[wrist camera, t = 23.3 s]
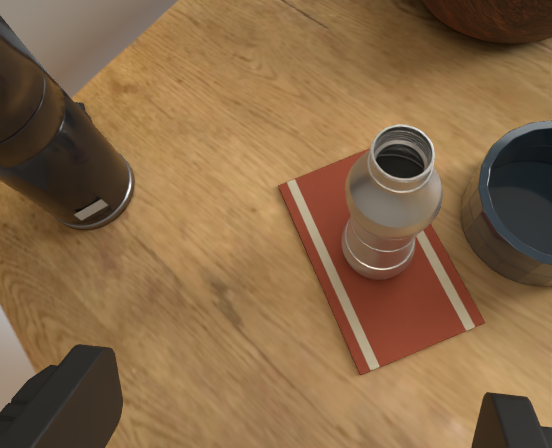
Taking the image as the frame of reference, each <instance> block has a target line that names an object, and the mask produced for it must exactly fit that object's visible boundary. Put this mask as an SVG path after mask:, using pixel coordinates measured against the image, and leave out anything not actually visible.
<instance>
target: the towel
mask: <svg viewBox="0 0 552 448" xmlns="http://www.w3.org/2000/svg"><path fill="white" fill-rule="evenodd" d="M369 150H371V148H370V149H367V150H365V151H362V152H360V153H358V154H355V155H353V156H350V157H348V158H345V159H343V160H340V161H338V162H335V163H333V164H330V165H328V166H326V167H323V168H321V169H318V170H316V171H313V172H311V173H308V174H306V175H303V176H301V177H299V178H296V179H293V180H291V181H288V182H286V183H284V184H281V185H279V186H278V187H279V189H280V192H281V194H282V196H283V199H284V201H285V203H286V205H287V208H288V210H289V212H290V215H291V217H292V219H293V222H294V224H295V226H296V228H297V231H298V233H299V235H300V238H301V240H302V242H303V245H304V247H305V249H306V251H307V254H308V256H309V258H310V261H311V263H312V265H313V268H314V270H315V272H316V274H317V277H318V279H319V281H320V284H321V286H322V288H323V290H324V293H325V295H326V297H327V300H328V302H329V304H330V307H331V309H332V311H333V313H334V316H335V318H336V320H337V323H338V325H339V327H340V330H341V332H342V334H343V336H344V339H345V341H346V343H347V346H348V348H349V350H350V353H351V355H352V357H353V359H354V362H355V364H356V366H357V369H358V371H359V373H360V375H362V374H364V373H367V372H369V371H372V370H374V369H376V368H379V367H381V366H384V365H386V364H388V363H391V362H393V361H396V360H398V359H400V358H403V357H405V356H407V355H410V354H412V353H415V352H417V351H419V350H422V349H424V348H427V347H429V346H431V345H434V344H436V343H439V342H441V341H443V340H446V339H448V338H450V337H453V336H455V335H458V334H460V333H462V332H465V331H467V330H470V329H472V328H474V327H477V326H479V325H482V324H484V323H485V322H484V320H483V318H482V316H481V314H480V313H479V311H478V309H477V307H476V305H475V303H474V302H473V300H472V298H471V296H470V294H469V293H468V291H467V289H466V287H465V285H464V284H463V282H462V280H461V278H460V276H459V274H458V273H457V271H456V269H455V267H454V265H453V264H452V262H451V260H450V258H449V256H448V254H447V253H446V251H445V249H444V247H443V245H442V244H441V242H440V240H439V238H438V236H437V234H436V233H435V231H434V229H433V227H432V225H431V224H429V226H428V227H427V228H425V229H424V230H423V231H422V232H420V233H419V234H418V235H417V236H416V237H415V251H414V255H413V258H412V260H411V263H410V264H409V265H408V267H407V268H406V269H405V270H404V271H403V272H401V273H400V274H398V275H396V276H394V277H392V278H389V279H385V280H374V279H369V278H366V277H364V276H362V275H360V274H359V273H357V272H356V271H355V270H354V269H353V268H352V267H351V266H350V265H349V263H348V261H347V260H346V258H345V256H344V254H343V251H342V245H341V238H342V233H343V229H344V227H345V225H346V223H347V222H348V220H349V219H350V211H349V208H348V205H347V201H346V192H345V185H346V179H347V176H348V173H349V171H350V169H351V167H352V166H353V165H354V163H355V162H356V161H357V160H358V159H359V158H360V157H361V156H362V155H363V154H364V153H366V152H367V151H369Z"/></svg>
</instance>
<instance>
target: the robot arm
mask: <svg viewBox="0 0 552 448" xmlns="http://www.w3.org/2000/svg"><path fill="white" fill-rule="evenodd" d="M84 110H85V107H84V104H83V103H78V102H76V103H75V102H73V100H72V99H71V98H70V97H69V96H68V95H67V94H66V92H65V91H64V90H63V89H62V88H61V87H60V86H59V84H58V83H57V82H56V81H55V80H54V79H53V78H52V77H51V76H50V74H49V73H48V72H47V71H46V70H45V69H44V68H43V66H42V65H41V64H40V63H39V62H38V61H37V60H36V58H35V57H34V56H33V55H32V54H31V53H30V51H29V50H28V49H27V48H26V47H25V45H24V44H23V43H22V42H21V41H20V39H19V38H18V37H17V36H16V34H15V33H14V32H13V31H12V29H11V28H10V27H9V25H8V24H7V23H6V22H5V21H4V20H3V18H2V17H1V16H0V181H2V182H3V183H5V184H6V185H8V186H9V187H11V188H12V189H14V190H15V191H17V192H18V193H20V194H21V195H23V196H24V197H26V198H27V199H29V200H30V201H32V202H34V203H35V204H37V205H38V206H40V207H41V208H43V209H44V210H45V211H47V212H49V213H50V214H52V215H53V216H54V217H55V218H56V219H58V220H59V221H60V222H62V223H63V224H65V225H67V226H69V227H71V228H74V229H80V230H90V229H95V228H99V227H102V226H104V225H106V224H108V223H110V222H111V221H113V220H114V219H115V218H117V217H118V216H119V215H120V214H121V213H122V212H123V211H124V209H125V208H126V207H127V205H128V203H129V201H130V199H131V197H132V194H133V190H134V175H133V172H132V169H131V167H130V165H129V164H128V162H127V161H126V160H125V159H124V158H123V156H122V155H121V154H119V153H118V152H117V151H116V150H115V149H114V148H113V146H112V145H111V144H110V143H109V142H108V140H107V139H106V138H105V137H104V136H103V135H102V134H101V132H100V131H99V130H98V129H97V128H96V127H95V126H94V124H93V123H92V120H91V118H90V116H89V115H88V114H87V113H86V112H85V111H84ZM122 407H123V397H122V391H121V386H120V380H119V374H118V369H117V363H116V357H115V353H114V351H113V349H111V348H108V347H99V346H90V345H81V344H79V345H76V346H75V347H73V348H72V349H71V351H70V352H69V353H68V354H67V356H66V357H65V358H64V359H63V360H62V362H61V363H60V364H59V365H58V366H56V365H50V366H48V367H47V368H45V369H44V370H42V371H41V372H39V373H38V374H36V375H35V376H33V377H32V378H30V379H29V380H28V381H27V382H26V383H25V384H24V385H23V387H22V388H21V389H20V390H19V391H18V392H17V393H16V395H15V396H14V397H13V398H12V401H11V403H8V404H7V405H6V406H5V407H4V408H3V410H2V411H1V412H0V448H105V447H106V445H107V443H108V441H109V440H110V438H111V436H112V434H113V433H114V431H115V429H116V427H117V425H118V423H119V420H120V417H121V413H122ZM471 448H552V428H551V427H543V426H540V423H539V421H538V418H537V416H536V413H535V411H534V409H533V406H532V404H531V402H530V400H529V399H528V398H527V397H524V396H515V395H506V394H498V393H489V392H487V393H486V394H485V395H484V397H483V401H482V405H481V409H480V413H479V417H478V422H477V426H476V430H475V434H474V438H473V442H472V447H471Z"/></svg>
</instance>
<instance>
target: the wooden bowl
mask: <svg viewBox="0 0 552 448" xmlns="http://www.w3.org/2000/svg"><path fill="white" fill-rule="evenodd" d="M421 1H422V2H423V3H424V5H425V6H426V7H427V8H428V10H429V11H430V12H431V13H432V14H433V15H434V16H435V17H436V18H438V19H439V20H440V21H441V22H443V23H444V24H446V25H447V26H448V27H450V28H452V29H454V30H456V31H458V32H460V33H462V34H464V35H467V36H470V37H473V38H476V39H480V40H484V41H489V42H496V43H512V44H513V43H527V42H534V41H539V40H543V39H547V38H550V37H552V0H421Z"/></svg>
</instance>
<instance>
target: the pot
mask: <svg viewBox="0 0 552 448" xmlns="http://www.w3.org/2000/svg"><path fill="white" fill-rule="evenodd" d="M461 221H462V226H463V230H464V233H465V236H466V238H467V240H468V242H469V244H470V246H471V247H472V249H473V250H474V252H475V253H476V254H477V255H478V256H479V258H480V259H481V260H482V261H483V262H484V263H486V264H487V265H488V266H489V267H490V268H492V269H493V270H494V271H496V272H497V273H499V274H501V275H503V276H504V277H506V278H509V279H511V280H513V281H516V282H520V283H523V284H527V285H533V286H552V120H551V121H542V122H533V123H529V124H526V125H524V126H522V127H519V128H517V129H514V130H512V131H509V132H508V133H507V134H505V135H504V136H503V137H502V138H501V139H499V140H498V141H497V142H496V143H495V144H494V145H492V147H491V148H490V150H489V151H488V153H487V155H486V156H485V158H484V160H483V161H482V163H481V165H480V166H479V168H478V169H477V171H476V173H475V174H474V176H473V178H472V180H471V181H470V183H469V185H468V187H467V188H466V190H465V192H464V195H463V200H462V205H461Z"/></svg>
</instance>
